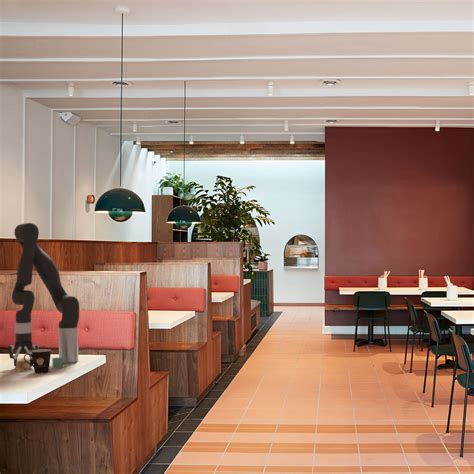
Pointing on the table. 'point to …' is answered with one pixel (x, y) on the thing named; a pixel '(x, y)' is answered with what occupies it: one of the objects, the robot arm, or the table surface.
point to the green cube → (57, 362)
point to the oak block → (22, 364)
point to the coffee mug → (40, 360)
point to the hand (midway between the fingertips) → (23, 366)
